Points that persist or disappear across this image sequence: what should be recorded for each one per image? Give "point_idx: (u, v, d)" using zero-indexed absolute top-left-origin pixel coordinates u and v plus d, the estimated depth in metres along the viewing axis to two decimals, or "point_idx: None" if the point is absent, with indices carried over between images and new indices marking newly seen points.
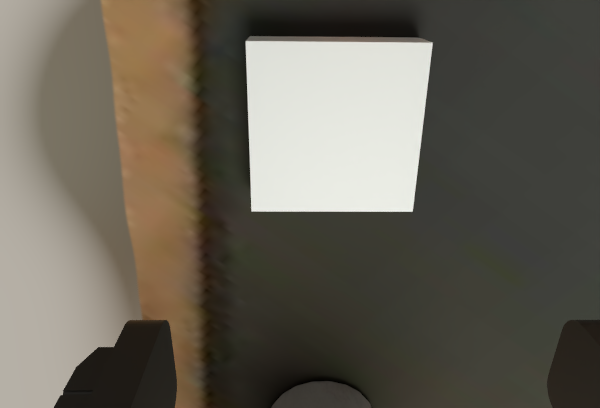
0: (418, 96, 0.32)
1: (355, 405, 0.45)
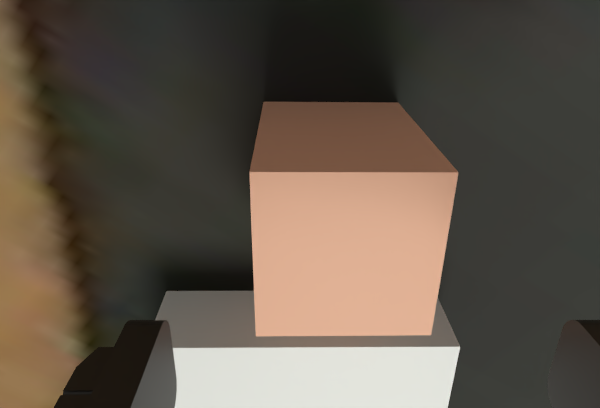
0: None
1: None
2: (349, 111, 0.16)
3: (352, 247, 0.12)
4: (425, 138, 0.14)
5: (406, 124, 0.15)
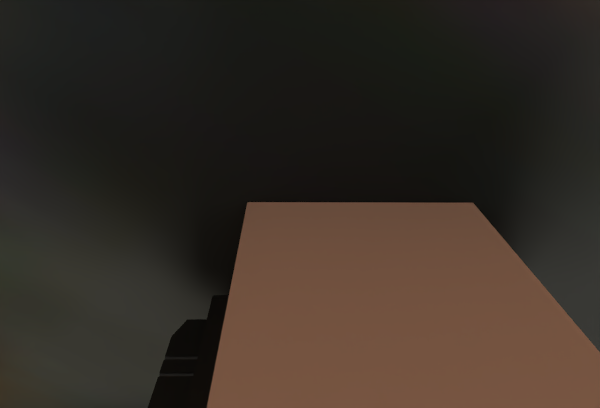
0: None
1: None
2: (397, 231, 0.09)
3: None
4: (575, 332, 0.07)
5: (514, 275, 0.08)
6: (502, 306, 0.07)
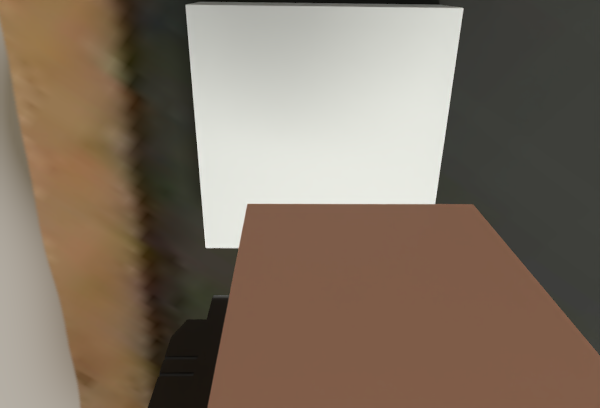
0: (440, 88, 0.22)
1: None
2: (397, 233, 0.09)
3: None
4: (575, 335, 0.07)
5: (514, 277, 0.08)
6: (502, 308, 0.07)
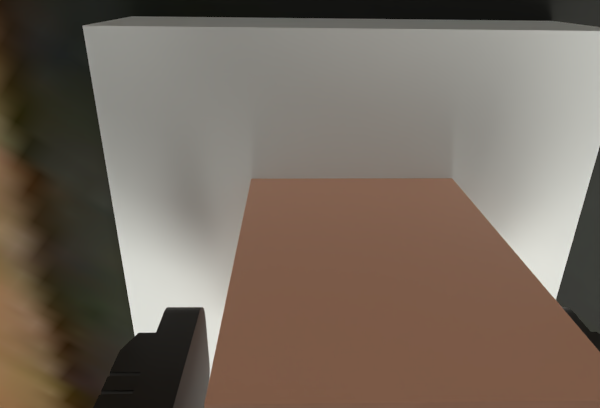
0: (570, 177, 0.12)
1: None
2: (383, 200, 0.11)
3: None
4: (527, 274, 0.08)
5: (481, 232, 0.09)
6: (468, 255, 0.08)
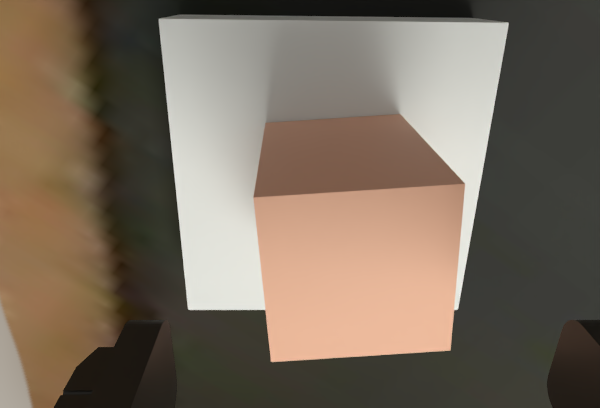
0: (477, 121, 0.18)
1: None
2: (351, 127, 0.16)
3: (363, 266, 0.12)
4: (429, 150, 0.14)
5: (409, 136, 0.15)
6: (398, 145, 0.14)
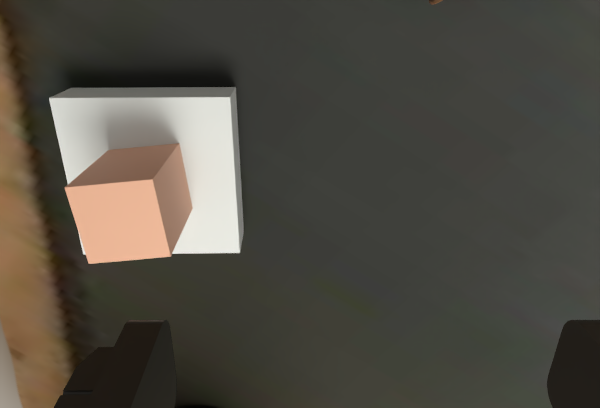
0: (225, 146, 0.33)
1: None
2: (145, 151, 0.32)
3: (118, 216, 0.27)
4: (162, 164, 0.29)
5: (164, 156, 0.30)
6: (152, 161, 0.30)
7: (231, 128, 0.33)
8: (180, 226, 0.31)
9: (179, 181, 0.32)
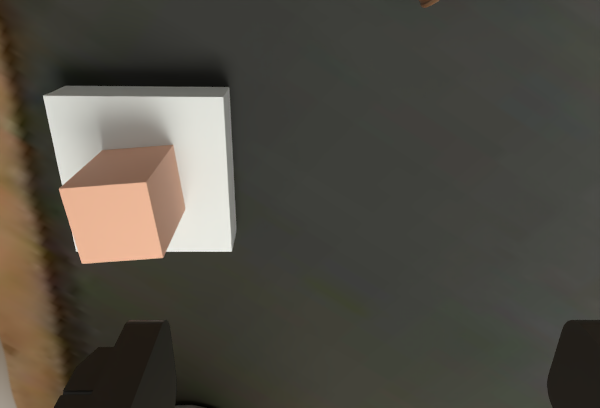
0: (218, 146, 0.33)
1: None
2: (139, 153, 0.32)
3: (112, 218, 0.28)
4: (156, 166, 0.29)
5: (158, 158, 0.31)
6: (146, 163, 0.30)
7: (224, 128, 0.33)
8: (173, 227, 0.32)
9: (172, 182, 0.32)
